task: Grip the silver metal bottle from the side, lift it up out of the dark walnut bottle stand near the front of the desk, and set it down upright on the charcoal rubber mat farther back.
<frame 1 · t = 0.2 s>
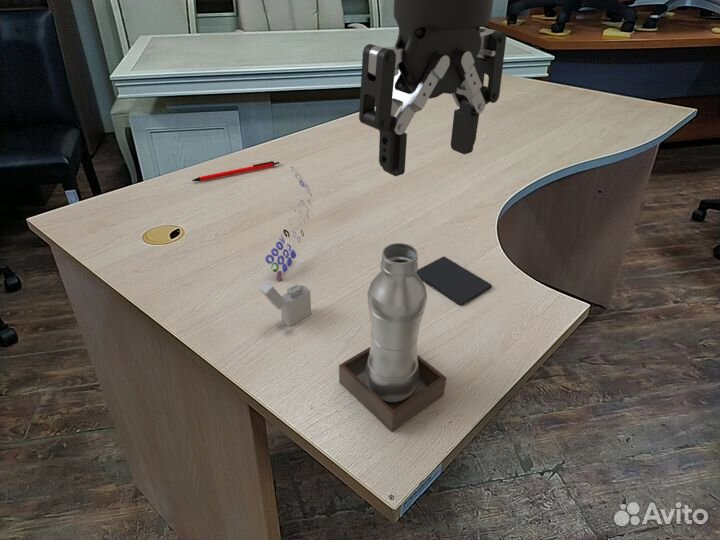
hand: (428, 161, 48), 30 cm above the table, tool pointing down, fingers open, 8 cm apart
pen: (237, 174, 112), on the table
bottle stand: (390, 388, 64), on the table
ring set: (297, 240, 91), on the table
silver metal bottle: (390, 389, 65), resting in bottle stand
lighter: (288, 323, 74), on the table
mat: (451, 281, 82), on the table
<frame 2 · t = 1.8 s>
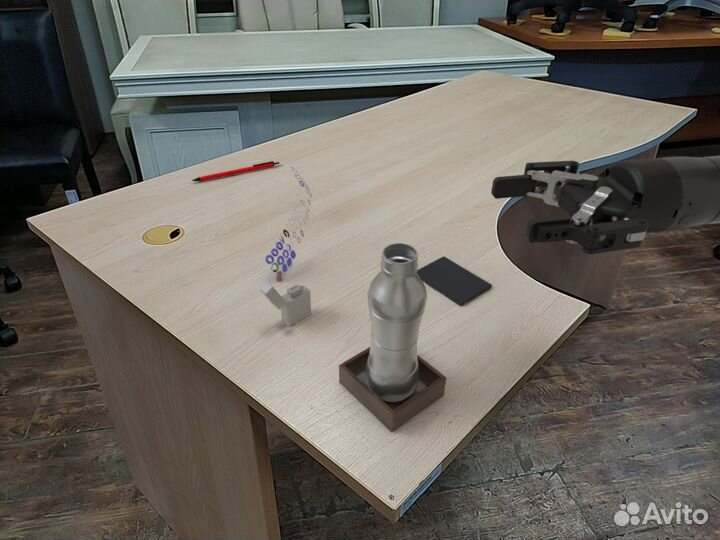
hand: (509, 208, 52), 24 cm above the table, tool horizontal, fingers open, 8 cm apart
nothing on the table moved.
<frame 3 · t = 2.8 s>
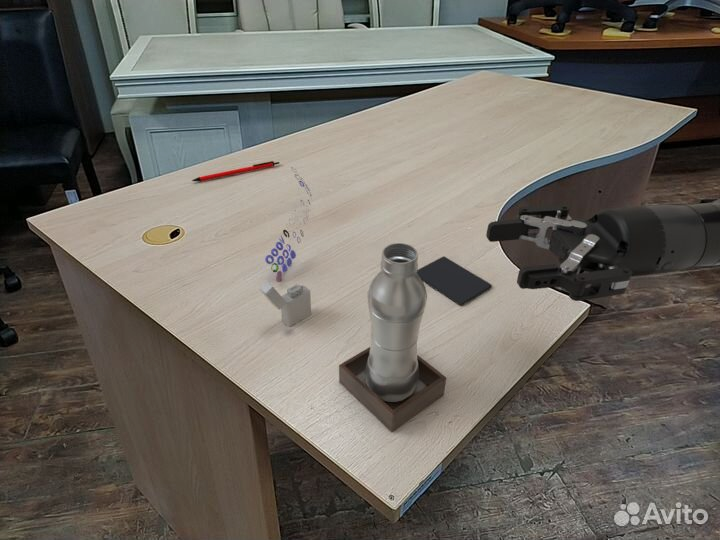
hand: (502, 254, 55), 19 cm above the table, tool horizontal, fingers open, 8 cm apart
nothing on the table moved.
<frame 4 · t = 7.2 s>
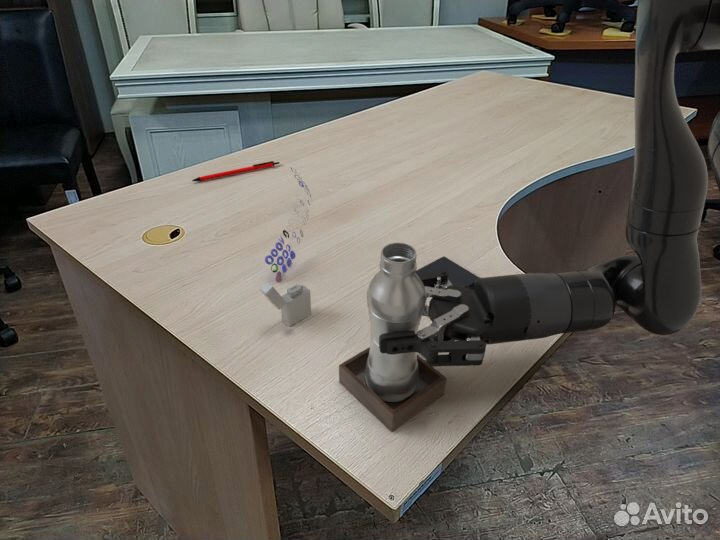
hand: (374, 323, 58), 11 cm above the table, tool horizontal, fingers closed on silver metal bottle, 6 cm apart
silver metal bottle: (390, 389, 65), resting in bottle stand, touching gripper
everything else where it was.
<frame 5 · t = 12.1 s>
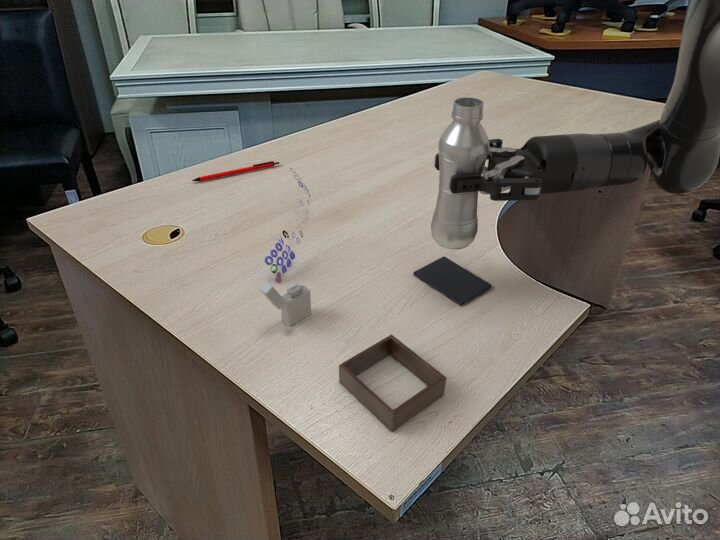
hand: (443, 172, 68), 20 cm above the table, tool horizontal, fingers closed on silver metal bottle, 6 cm apart
silver metal bottle: (452, 243, 75), point 9 cm above the table, touching gripper
everything else where it was.
when the fingers open (12 cm above the table, at t = 15.3 s): silver metal bottle stays where it is, resting on mat.
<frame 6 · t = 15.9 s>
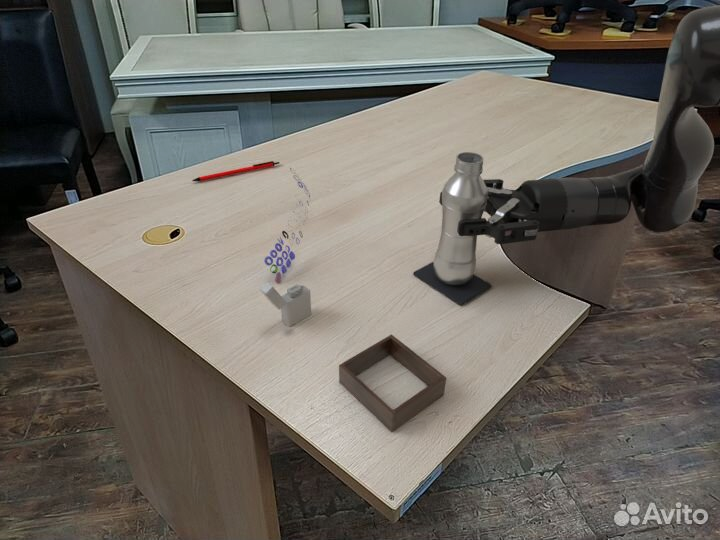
hand: (449, 212, 75), 12 cm above the table, tool horizontal, fingers open, 8 cm apart
silver metal bottle: (452, 279, 82), resting on mat
everything else where it was.
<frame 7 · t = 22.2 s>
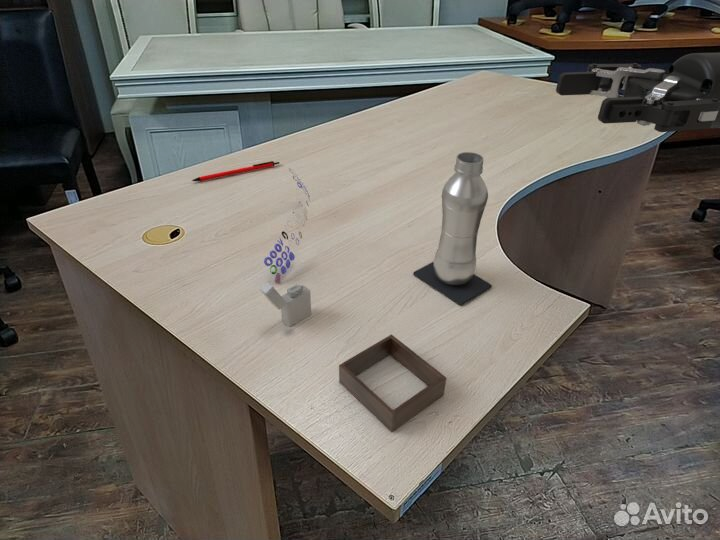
hand: (579, 96, 53), 33 cm above the table, tool horizontal, fingers open, 8 cm apart
nothing on the table moved.
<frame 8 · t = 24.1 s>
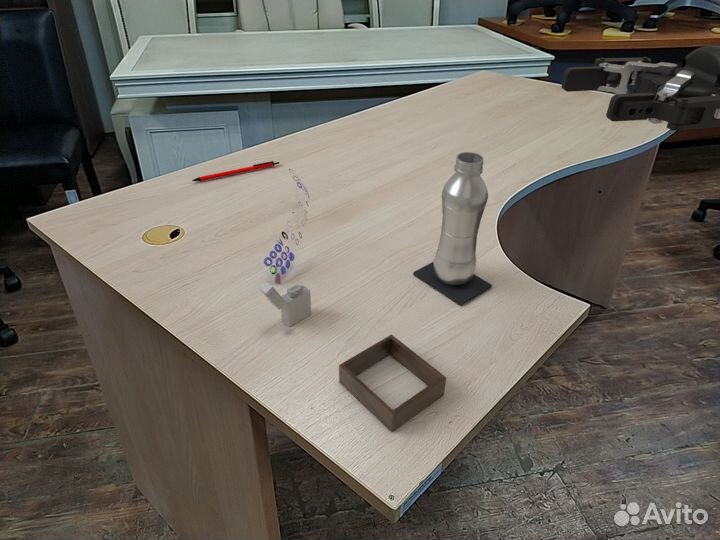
hand: (586, 93, 50), 34 cm above the table, tool horizontal, fingers open, 8 cm apart
nothing on the table moved.
at the end: silver metal bottle inside the target area on the mat (0.1 cm from its centre), point 0.4 cm above the mat's base; silver metal bottle tilted 0°; silver metal bottle touching mat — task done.
